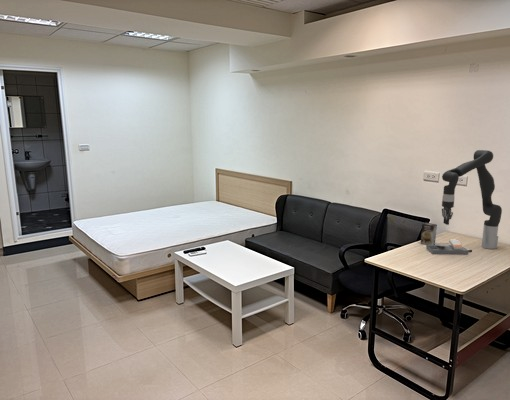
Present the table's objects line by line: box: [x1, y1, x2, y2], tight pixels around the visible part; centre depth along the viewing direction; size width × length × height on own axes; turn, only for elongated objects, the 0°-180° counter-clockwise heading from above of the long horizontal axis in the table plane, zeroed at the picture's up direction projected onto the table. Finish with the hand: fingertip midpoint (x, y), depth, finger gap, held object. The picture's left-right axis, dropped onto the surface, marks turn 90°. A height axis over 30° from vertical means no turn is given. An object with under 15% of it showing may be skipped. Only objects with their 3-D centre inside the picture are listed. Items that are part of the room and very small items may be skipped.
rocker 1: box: [435, 241, 450, 246], centre depth 282 cm, size 6×10×2 cm, turn 176°
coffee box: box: [420, 222, 438, 246], centre depth 299 cm, size 9×6×16 cm
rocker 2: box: [448, 239, 464, 249], centre depth 281 cm, size 6×10×2 cm, turn 176°
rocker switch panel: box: [425, 244, 473, 256], centre depth 282 cm, size 30×12×4 cm, turn 86°
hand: (446, 223), depth 275 cm, fingers open, 2 cm apart
